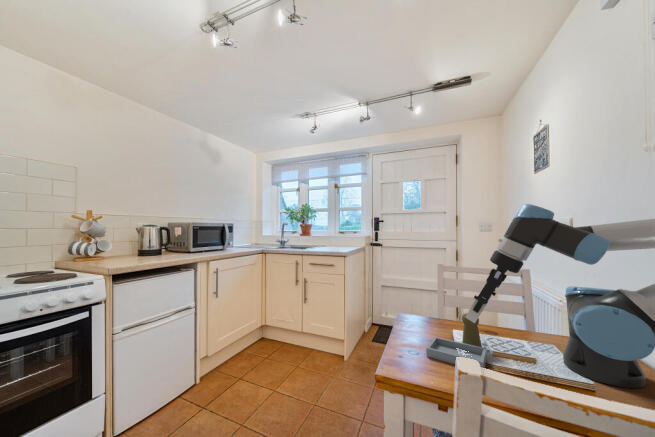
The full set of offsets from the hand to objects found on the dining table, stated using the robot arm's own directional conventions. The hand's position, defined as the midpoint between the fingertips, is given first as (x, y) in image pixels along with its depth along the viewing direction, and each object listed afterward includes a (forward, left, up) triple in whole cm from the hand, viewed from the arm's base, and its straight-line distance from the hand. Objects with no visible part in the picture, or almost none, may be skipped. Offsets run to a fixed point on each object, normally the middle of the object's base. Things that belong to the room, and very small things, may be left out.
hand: (474, 314), depth 76 cm
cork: (+3, -10, -14) cm, 17 cm away
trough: (+6, +1, -14) cm, 15 cm away
